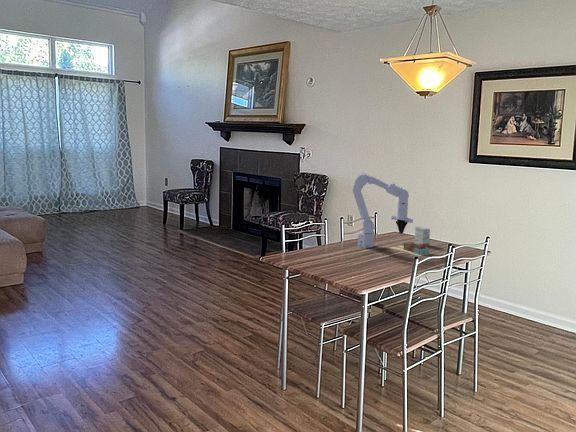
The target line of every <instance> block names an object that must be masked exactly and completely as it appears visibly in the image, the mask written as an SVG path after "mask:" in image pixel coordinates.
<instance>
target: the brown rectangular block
mask: <svg viewBox="0 0 576 432" xmlns="http://www.w3.org/2000/svg"><path fill="white" fill-rule="evenodd" d="M414 243H415V242H408V241H407V242H404V243H403V245H404V250H407V251H410V252H414V248H417V249H425V246H422V245H418V244H414Z"/></svg>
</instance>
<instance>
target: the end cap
mask: <svg viewBox="0 0 576 432" xmlns="http://www.w3.org/2000/svg"><path fill="white" fill-rule="evenodd" d="M429 252H430V248H429V247H425V249H417V248H414V254H418V255H422V256H425V255H424V254H427V255H430V254H429Z"/></svg>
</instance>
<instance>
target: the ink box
mask: <svg viewBox="0 0 576 432" xmlns="http://www.w3.org/2000/svg"><path fill="white" fill-rule="evenodd" d="M414 230H415V231H414V242H413V243H414V244H418V245H422V246H425V247H427V248H429V246H430V237H431V236H430V234H431V228H427V227H424V226H415V228H414Z"/></svg>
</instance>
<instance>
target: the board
mask: <svg viewBox="0 0 576 432" xmlns="http://www.w3.org/2000/svg"><path fill="white" fill-rule="evenodd" d="M388 249H390V250H394V251H398V252H402V253H405V254H410V255H413V256H416V257H421V256H426V255H430V254H431V255H432V254H433V252H430V251H429V254H424V255H418V254H414V252H410V251H407V250H404V244H402V245H396V246H391V247H390V246H389V247H388Z"/></svg>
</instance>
